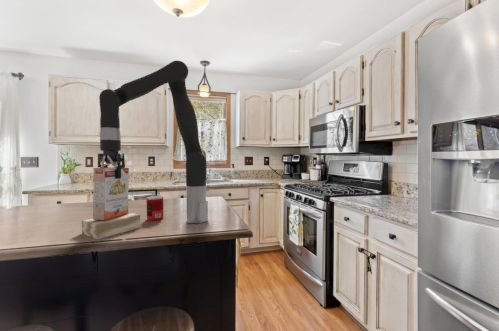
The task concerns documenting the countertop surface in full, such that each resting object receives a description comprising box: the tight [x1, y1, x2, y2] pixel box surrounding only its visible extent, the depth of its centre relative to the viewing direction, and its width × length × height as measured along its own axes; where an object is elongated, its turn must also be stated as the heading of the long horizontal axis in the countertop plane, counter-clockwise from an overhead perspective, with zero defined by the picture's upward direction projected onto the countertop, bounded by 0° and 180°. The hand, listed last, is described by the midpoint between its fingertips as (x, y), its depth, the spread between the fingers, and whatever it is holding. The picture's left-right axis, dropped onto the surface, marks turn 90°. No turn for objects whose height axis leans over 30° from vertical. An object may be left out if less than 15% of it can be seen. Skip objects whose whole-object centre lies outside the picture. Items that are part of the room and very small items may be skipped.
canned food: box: [146, 195, 164, 222], centre depth 124 cm, size 8×8×11 cm
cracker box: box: [92, 166, 130, 220], centre depth 105 cm, size 14×6×21 cm, turn 168°
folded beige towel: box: [81, 211, 141, 240], centre depth 105 cm, size 12×18×6 cm, turn 147°
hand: (111, 178), depth 105 cm, fingers open, 8 cm apart
